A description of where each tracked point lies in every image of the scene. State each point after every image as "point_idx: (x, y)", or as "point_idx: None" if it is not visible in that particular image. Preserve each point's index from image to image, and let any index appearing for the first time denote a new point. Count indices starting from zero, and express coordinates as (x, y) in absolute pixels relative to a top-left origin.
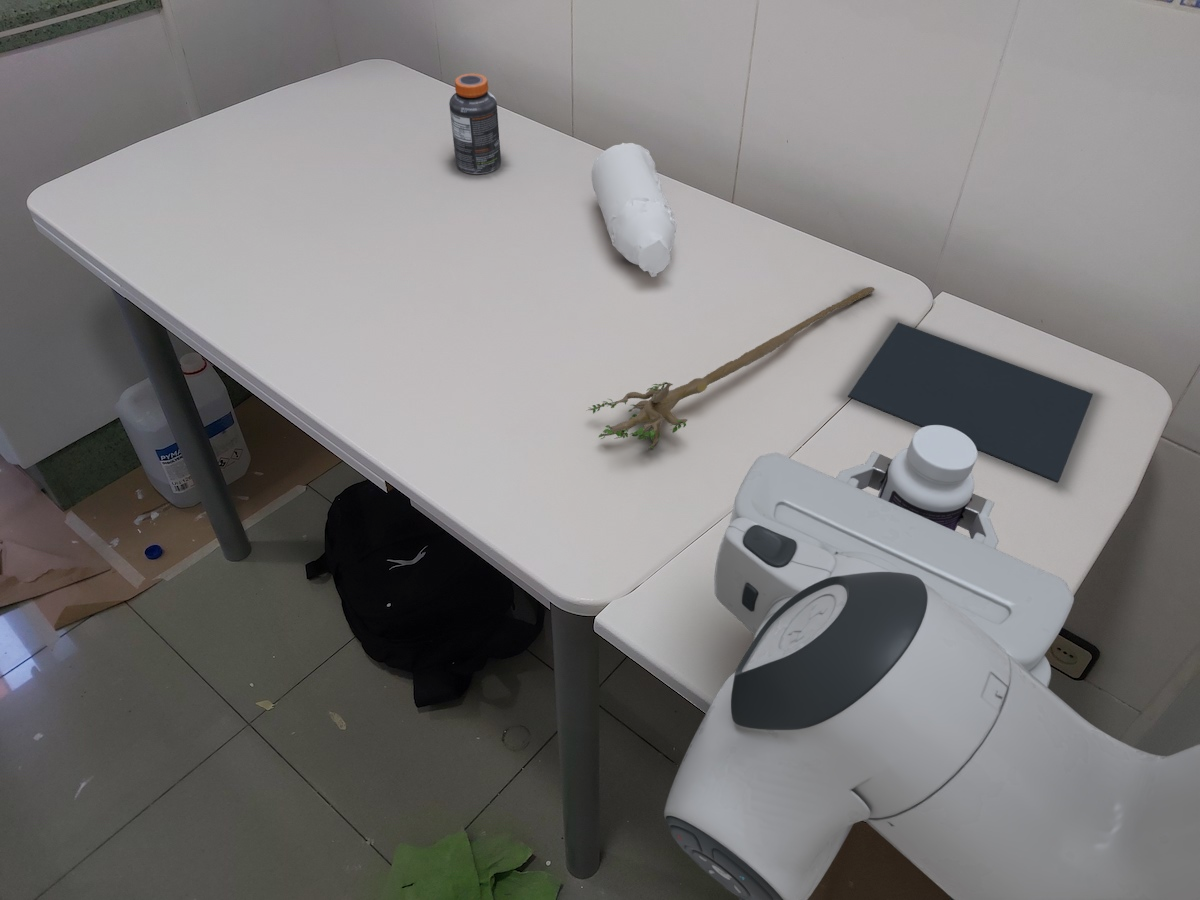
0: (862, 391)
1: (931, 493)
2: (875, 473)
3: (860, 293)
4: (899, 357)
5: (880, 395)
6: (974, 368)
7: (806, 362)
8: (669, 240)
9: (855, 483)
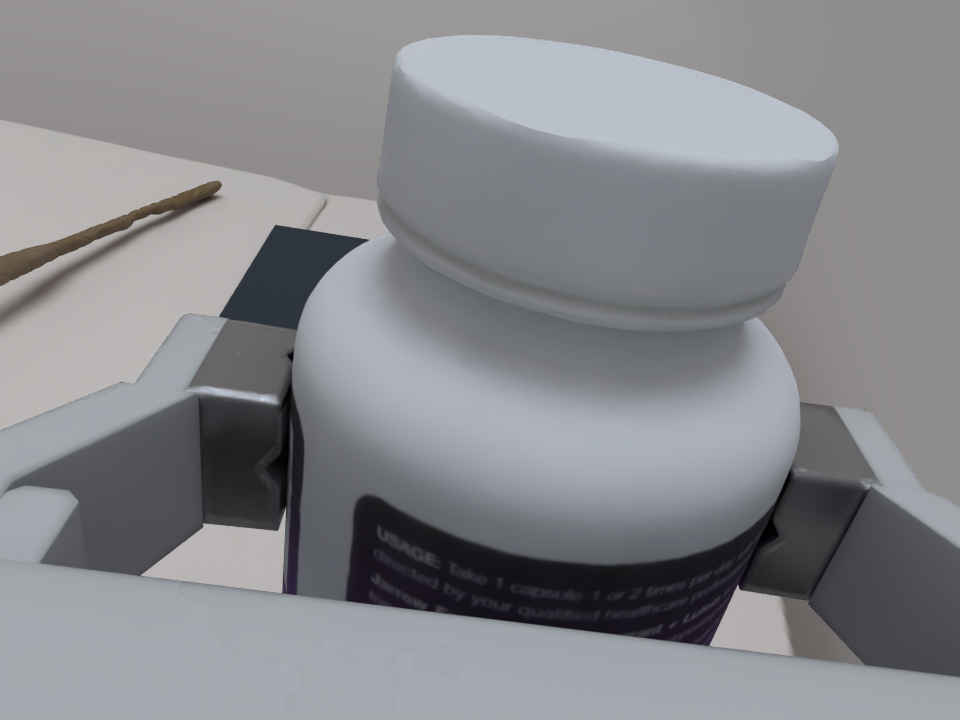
0: None
1: (640, 427)
2: (220, 424)
3: (196, 190)
4: (291, 272)
5: None
6: None
7: (97, 306)
8: None
9: (46, 524)
